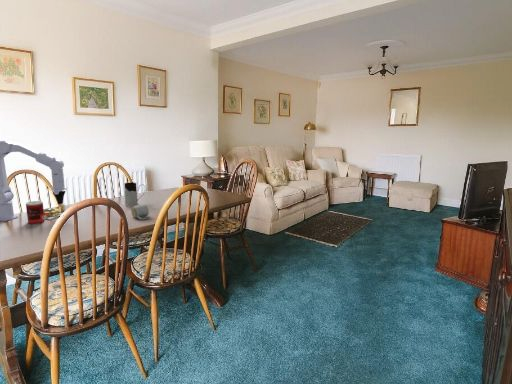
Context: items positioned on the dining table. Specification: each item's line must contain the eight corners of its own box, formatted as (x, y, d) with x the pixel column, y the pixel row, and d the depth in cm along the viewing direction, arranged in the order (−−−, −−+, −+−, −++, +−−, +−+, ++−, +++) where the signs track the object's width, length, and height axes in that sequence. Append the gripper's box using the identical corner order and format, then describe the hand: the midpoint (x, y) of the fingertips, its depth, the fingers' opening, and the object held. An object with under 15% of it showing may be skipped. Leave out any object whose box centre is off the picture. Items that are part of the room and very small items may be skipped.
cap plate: (29, 217, 183) (28, 211, 182) (48, 211, 196) (48, 205, 196) (50, 220, 181) (49, 213, 180) (69, 213, 194) (68, 207, 193)
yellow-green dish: (37, 216, 182) (36, 207, 181) (42, 211, 191) (41, 203, 190) (63, 214, 186) (62, 206, 185) (66, 210, 195) (66, 202, 194)
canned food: (40, 219, 182) (38, 200, 179) (47, 221, 178) (45, 202, 175) (25, 222, 175) (22, 202, 173) (32, 225, 171) (30, 205, 169)
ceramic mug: (130, 216, 193) (130, 204, 191) (143, 214, 198) (143, 202, 196) (138, 221, 185) (137, 208, 183) (151, 218, 191) (151, 206, 189)
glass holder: (122, 204, 220) (121, 182, 217) (143, 201, 228) (143, 181, 225) (126, 207, 213) (125, 185, 210) (147, 204, 221) (147, 183, 218)
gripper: (63, 182, 177) (65, 206, 180) (68, 178, 190) (70, 200, 193) (48, 183, 174) (51, 207, 177) (55, 178, 188) (57, 201, 191)
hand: (60, 203), depth 185 cm, fingers closed
